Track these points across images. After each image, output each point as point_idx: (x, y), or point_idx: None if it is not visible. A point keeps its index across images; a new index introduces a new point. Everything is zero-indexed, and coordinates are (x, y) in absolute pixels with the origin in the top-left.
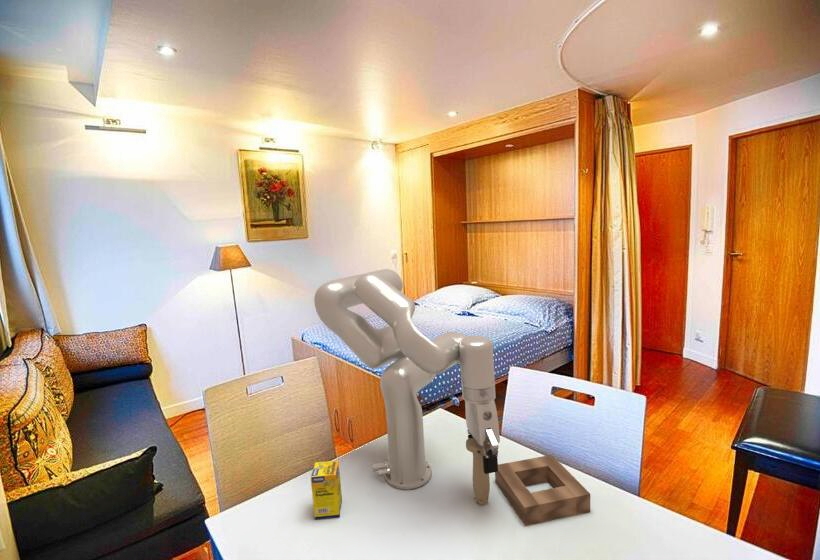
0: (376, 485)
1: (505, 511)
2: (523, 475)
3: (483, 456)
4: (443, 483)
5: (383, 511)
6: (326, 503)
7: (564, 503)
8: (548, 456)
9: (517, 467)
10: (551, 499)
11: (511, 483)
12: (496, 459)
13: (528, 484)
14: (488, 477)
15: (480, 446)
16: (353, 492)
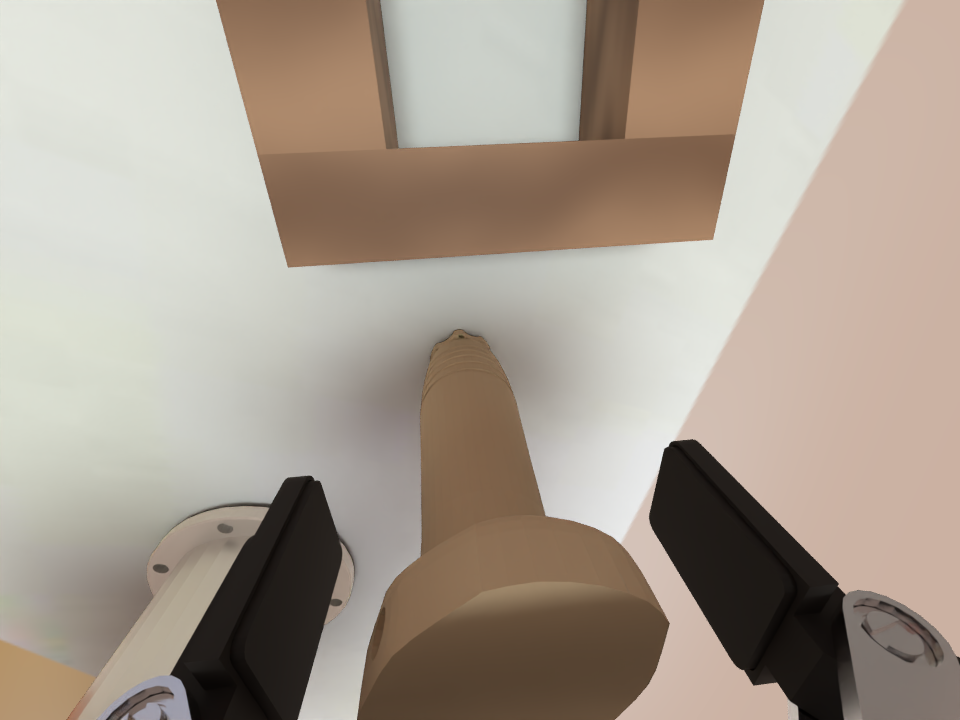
0: (321, 638)
1: (545, 277)
2: (379, 71)
3: (760, 680)
4: (324, 470)
5: None
6: None
7: None
8: None
9: (329, 94)
10: (740, 6)
11: (504, 228)
12: (778, 535)
13: (385, 51)
14: (505, 393)
15: (587, 700)
16: (350, 676)
